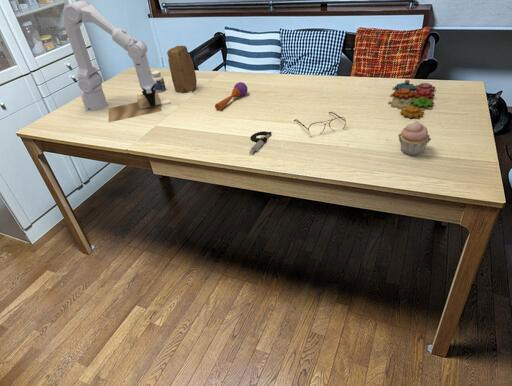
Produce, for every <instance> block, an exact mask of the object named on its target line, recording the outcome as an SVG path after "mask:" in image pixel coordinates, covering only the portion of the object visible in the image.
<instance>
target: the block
mask: <svg viewBox="0 0 512 386" xmlns="http://www.w3.org/2000/svg"><path fill="white" fill-rule="evenodd" d="M166 54H167V58H168V66H169V71H170V75H171V80H172V84H173V87H174V90H175V92H176V93H179V94H185V93H190V92H194V91H195V89H196V87H197V83H198V81H197V74H196V70H195V63H194V61H193V58H192V57H191V55H190V54H189V51H188V47H187V46H185V45H176V46H174V47H171V48H170V49H168V50H167V53H166Z"/></svg>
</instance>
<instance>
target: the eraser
mask: <svg viewBox="0 0 512 386" xmlns="http://www.w3.org/2000/svg"><path fill="white" fill-rule="evenodd" d="M160 101H161V104H162V105H161V106H165V105H170V104H171V99H170V98H167V99H163V100H160Z"/></svg>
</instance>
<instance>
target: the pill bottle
mask: <svg viewBox="0 0 512 386" xmlns="http://www.w3.org/2000/svg"><path fill="white" fill-rule="evenodd" d="M151 74H152V78H153V81H156V82H157V83H156V84H154V89H156V91H158V94H159V93H164V92H166V91H167V88H166V83H165V79H164V76H163V75H161V71H160V70H154V71H151Z"/></svg>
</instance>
